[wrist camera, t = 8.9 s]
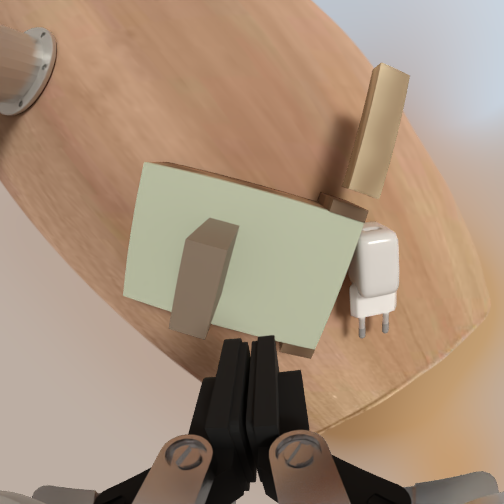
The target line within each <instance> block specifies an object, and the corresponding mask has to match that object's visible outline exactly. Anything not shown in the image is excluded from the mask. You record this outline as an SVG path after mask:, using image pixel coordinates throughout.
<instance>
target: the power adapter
mask: <svg viewBox="0 0 504 504" xmlns="http://www.w3.org/2000/svg"><path fill="white" fill-rule="evenodd" d="M348 276H349V278H350V281H351V282H352V284H351V286H350V290H349V292H350V312H351V316H354V317H356V318H358V319H359V337H360V338H364V337H365V317H368V316H373V315H378V314H383V322H382V332H383V333H387V332H388V331H389V312H391V311H394V310H395V308H396V291H397V289H398V287H399V248H398V239H397V236H396V233H395V232H394V231H393V230H391V229H389V228H388V227H386V226H384V225H382V224H380V223H378V222H376V221H374V222H365V223H364V225H363V228H362V231H361V234H360V237H359V240H358V243H357V245H356V248H355V251H354V254H353V257H352V259H351V262H350V265H349V267H348Z"/></svg>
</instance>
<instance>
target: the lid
mask: <svg viewBox="0 0 504 504" xmlns="http://www.w3.org/2000/svg"><path fill="white" fill-rule="evenodd" d="M363 225H364V223H363V222H360V221H357V220H354V219H351V218H348V217H345V216H342V215H339V214H336V213H333V212H330V211H328V210H327V209H324V208H321V207H317V206H314V205H311V204H308V203H304V202H301V201H298V200H294V199H291V198H288V197H284V196H281V195H277V194H274V193H270V192H267V191H263V190H260V189H256V188H252V187H249V186H245V185H241V184H237V183H234V182H230V181H226V180H222V179H218V178H214V177H210V176H206V175H202V174H198V173H194V172H190V171H186V170H181V169H177V168H173V167H168V166H164V165H159V164H155V163H150V162H144V165H143V170H142V174H141V179H140V184H139V189H138V194H137V199H136V205H135V210H134V216H133V222H132V228H131V235H130V242H129V249H128V256H127V264H126V273H125V282H124V292H123V296H126V297H128V298H131V299H134V300H137V301H140V302H143V303H146V304H149V305H152V306H155V307H158V308H161V309H164V310H167V311H171V318H170V324H169V329H171V330H174V331H178V332H181V333H184V334H187V335H191V336H194V337H197V338H201V339H204V340H205V338H206V336H207V333H208V330H209V327H210V325H211V324H214V325H217V326H221V327H225V328H228V329H232V330H236V331H239V332H243V333H247V334H251V335H255V336H269V335H274V336H275V341H279V342H283V343H287V344H292V345H296V346H301V347H305V348H310V349H314V350H315V348H316V345H317V343H318V341H319V339H320V336H321V334H322V332H323V330H324V327H325V325H326V323H327V320H328V318H329V315H330V313H331V311H332V308H333V306H334V303H335V301H336V298H337V296H338V293H339V291H340V288H341V286H342V283H343V281H344V278H345V275H346V273H347V270H348V267H349V265H350V262H351V259H352V257H353V254H354V251H355V248H356V245H357V243H358V240H359V237H360V234H361V231H362V228H363Z"/></svg>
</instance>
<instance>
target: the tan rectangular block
mask: <svg viewBox="0 0 504 504" xmlns="http://www.w3.org/2000/svg"><path fill="white" fill-rule="evenodd" d="M409 77H410V76H409V75H407V74H405V73H403V72H401V71H399V70H397V69H395V68H393V67H390V66H388V65H386V64H384V63H380V64H379V65H378V66H377V67H375V68H374V69H373V71H372V76H371V80H370V84H369V89H368V93H367V97H366V101H365V105H364V109H363V113H362V117H361V121H360V125H359V129H358V132H357V136H356V140H355V144H354V147H353V151H352V154H351V158H350V161H349V165H348V168H347V172H346V175H345V179H344V182H343V185H342V187H345V188H348V189H351V190H354V191H357V192H359V193H362V194H365V195H368V196H371V197H374V198H376V199H379V198H380V195H381V192H382V188H383V185H384V182H385V178H386V175H387V171H388V168H389V164H390V160H391V157H392V153H393V149H394V145H395V141H396V137H397V133H398V129H399V125H400V121H401V116H402V112H403V107H404V102H405V98H406V93H407V88H408V83H409Z"/></svg>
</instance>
